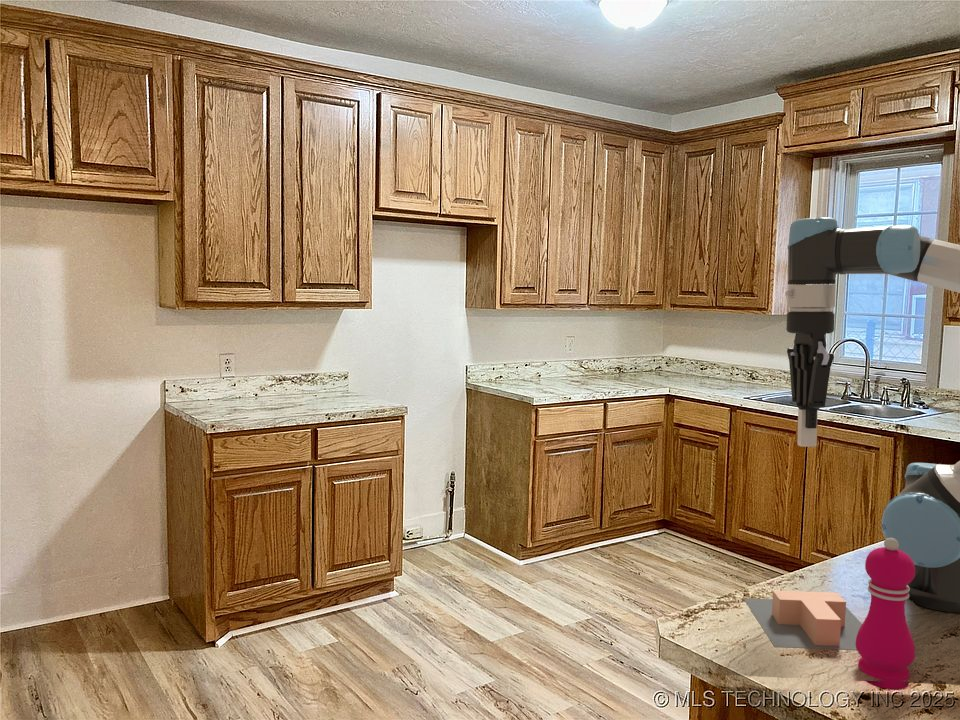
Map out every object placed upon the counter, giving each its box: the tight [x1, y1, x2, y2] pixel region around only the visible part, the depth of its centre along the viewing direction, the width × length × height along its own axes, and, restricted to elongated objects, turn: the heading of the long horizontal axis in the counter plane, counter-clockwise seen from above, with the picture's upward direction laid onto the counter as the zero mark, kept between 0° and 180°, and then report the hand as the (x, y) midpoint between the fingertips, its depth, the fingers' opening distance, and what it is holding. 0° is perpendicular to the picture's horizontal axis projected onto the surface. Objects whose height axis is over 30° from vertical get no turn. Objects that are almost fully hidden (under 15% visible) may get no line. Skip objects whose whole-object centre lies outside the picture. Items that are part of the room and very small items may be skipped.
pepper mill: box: [856, 538, 916, 690], centre depth 103 cm, size 7×7×20 cm
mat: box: [743, 597, 863, 651], centre depth 118 cm, size 16×17×1 cm
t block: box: [772, 589, 847, 646], centre depth 115 cm, size 10×10×4 cm
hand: (806, 445), depth 131 cm, fingers closed
